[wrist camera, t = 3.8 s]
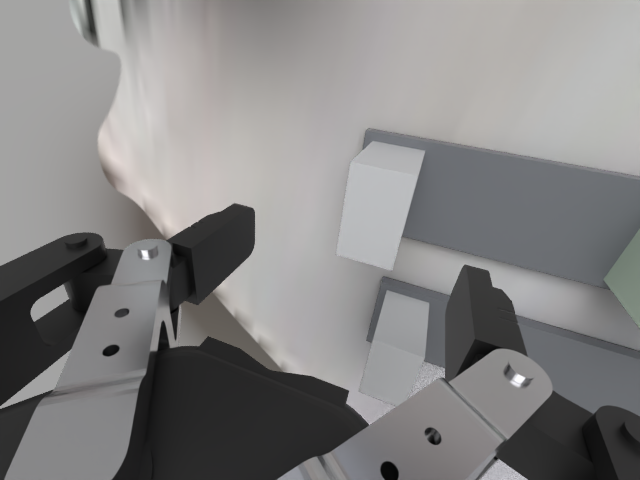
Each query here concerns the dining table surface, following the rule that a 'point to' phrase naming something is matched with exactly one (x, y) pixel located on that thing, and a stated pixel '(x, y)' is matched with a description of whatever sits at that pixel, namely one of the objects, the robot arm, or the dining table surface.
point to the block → (627, 279)
